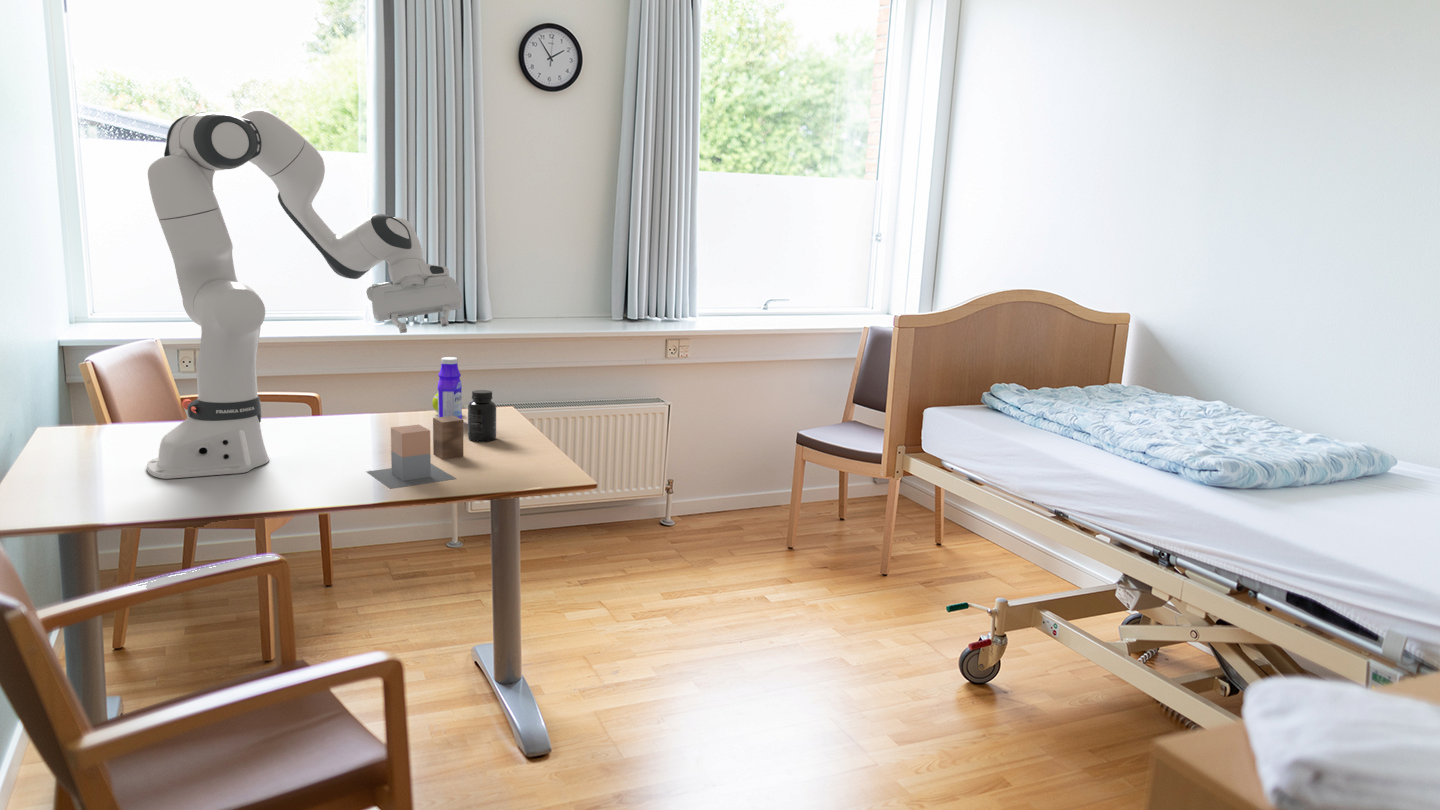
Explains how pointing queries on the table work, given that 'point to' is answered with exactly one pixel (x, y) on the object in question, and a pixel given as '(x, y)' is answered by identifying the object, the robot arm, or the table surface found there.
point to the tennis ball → (435, 402)
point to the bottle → (449, 389)
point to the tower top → (410, 440)
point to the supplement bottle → (482, 417)
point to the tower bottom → (411, 466)
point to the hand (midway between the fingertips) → (424, 328)
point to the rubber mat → (394, 482)
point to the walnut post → (448, 437)
